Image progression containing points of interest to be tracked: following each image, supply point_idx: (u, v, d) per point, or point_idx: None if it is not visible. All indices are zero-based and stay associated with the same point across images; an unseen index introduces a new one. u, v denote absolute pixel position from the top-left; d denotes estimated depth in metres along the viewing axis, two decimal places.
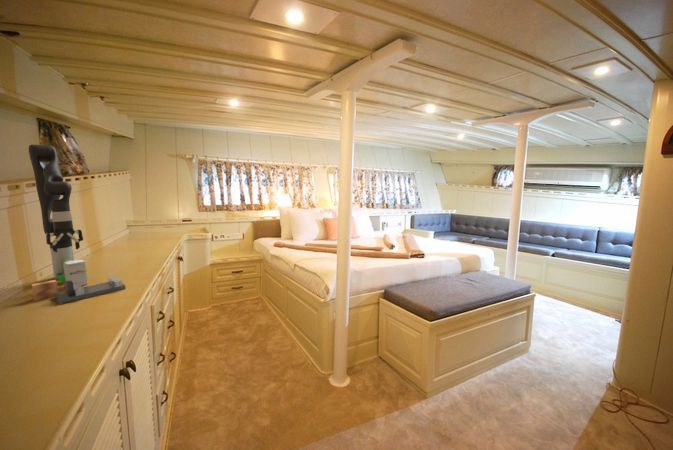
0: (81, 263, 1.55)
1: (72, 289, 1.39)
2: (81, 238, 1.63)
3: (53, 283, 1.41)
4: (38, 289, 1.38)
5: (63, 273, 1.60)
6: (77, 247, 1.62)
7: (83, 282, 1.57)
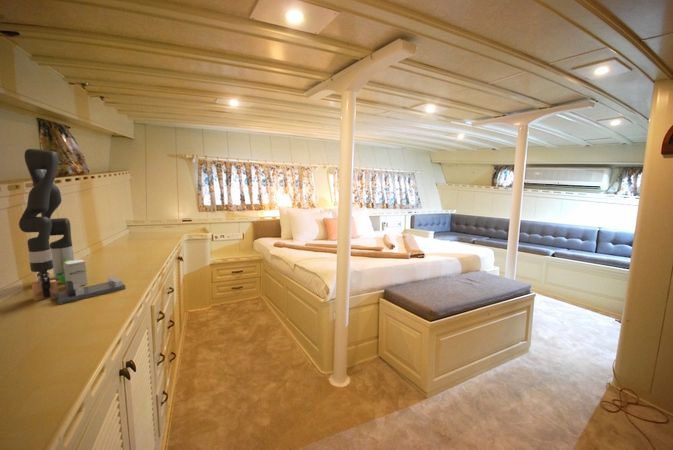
0: (81, 263, 1.55)
1: (72, 289, 1.39)
2: None
3: (53, 283, 1.41)
4: (38, 289, 1.38)
5: (63, 273, 1.60)
6: None
7: (83, 282, 1.57)
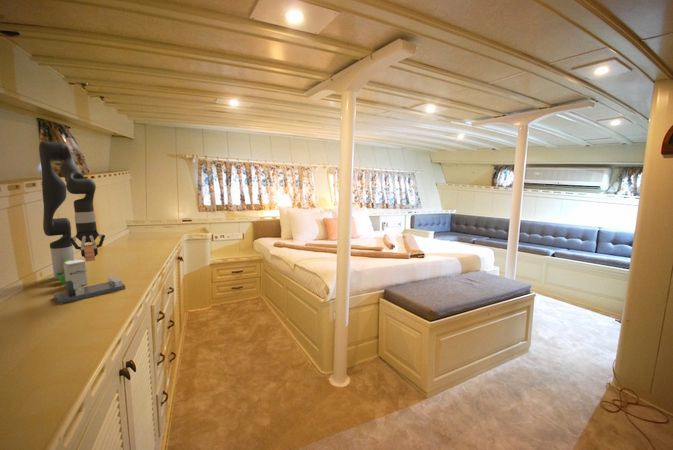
0: (81, 263, 1.55)
1: (72, 289, 1.39)
2: None
3: None
4: (93, 250, 1.45)
5: (63, 273, 1.60)
6: None
7: (83, 282, 1.57)
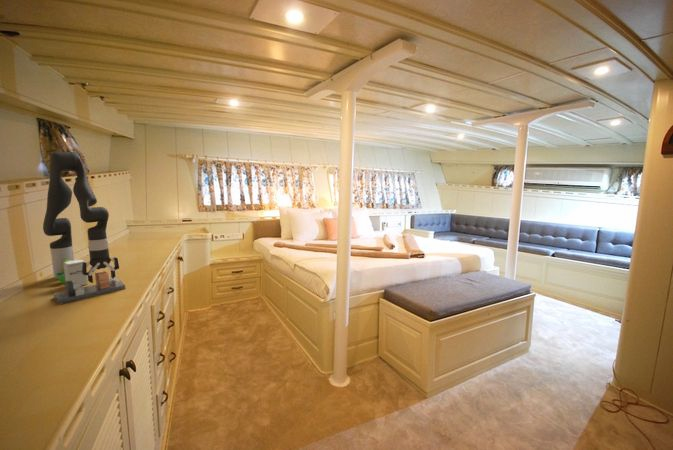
0: (81, 263, 1.55)
1: (72, 289, 1.39)
2: None
3: None
4: None
5: (63, 273, 1.60)
6: None
7: (83, 282, 1.57)
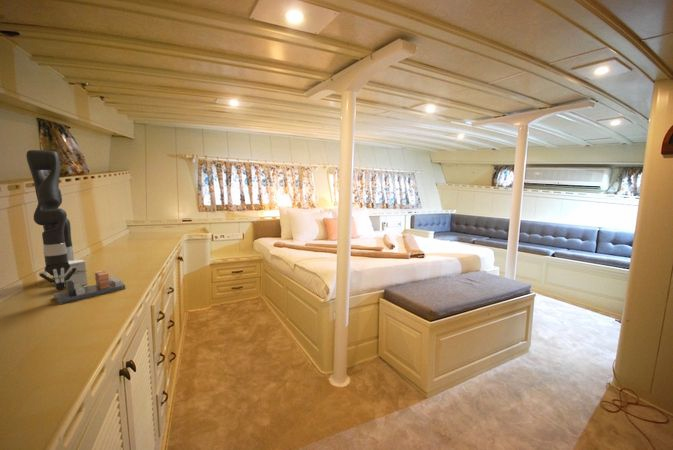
0: (81, 263, 1.55)
1: (73, 289, 1.39)
2: None
3: None
4: None
5: None
6: None
7: (83, 282, 1.57)
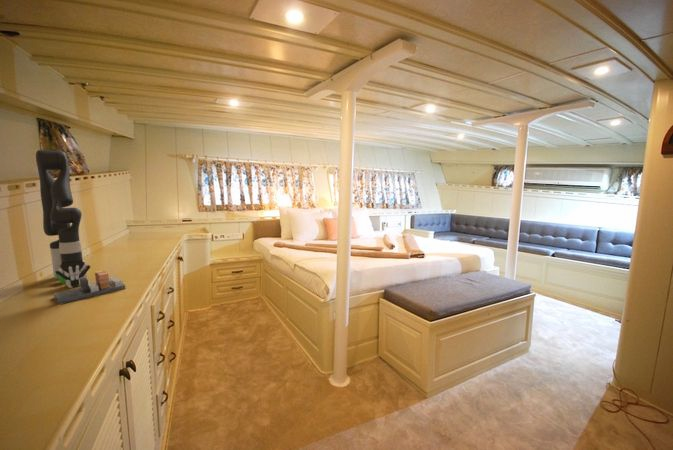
0: None
1: (87, 286, 1.43)
2: None
3: None
4: None
5: (63, 273, 1.60)
6: None
7: None
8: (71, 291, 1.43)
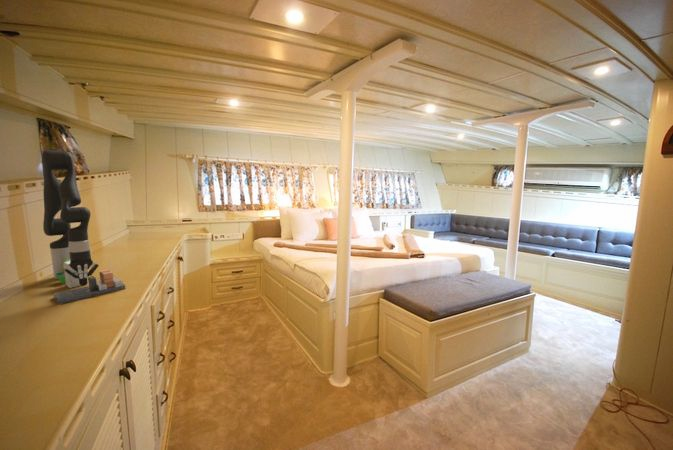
0: None
1: (95, 284, 1.45)
2: None
3: None
4: None
5: (63, 273, 1.60)
6: None
7: None
8: (71, 291, 1.43)
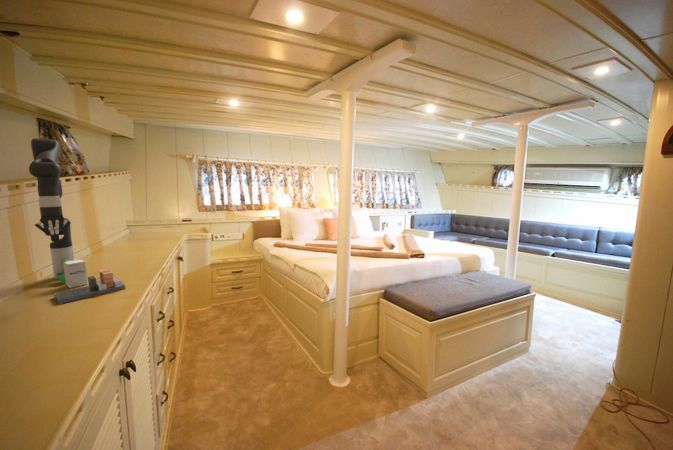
0: (81, 263, 1.55)
1: (95, 284, 1.45)
2: None
3: None
4: None
5: (63, 273, 1.60)
6: None
7: (83, 282, 1.57)
8: (71, 291, 1.43)
